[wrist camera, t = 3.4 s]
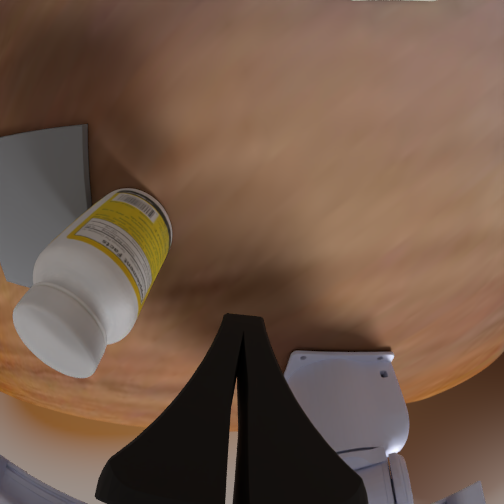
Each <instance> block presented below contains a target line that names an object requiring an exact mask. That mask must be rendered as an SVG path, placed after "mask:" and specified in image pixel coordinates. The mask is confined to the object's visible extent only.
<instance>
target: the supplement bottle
mask: <svg viewBox="0 0 504 504" xmlns="http://www.w3.org/2000/svg"><path fill="white" fill-rule="evenodd" d="M171 243H172V226H171V222H170V219H169V217H168V215H167V213H166V211H165V209H164V208H163V207H162V205H161V204H160V203H159V202H158V201H157V200H156V199H155V198H153V197H152V196H151V195H149V194H147V193H145V192H143V191H141V190H137V189H132V188H123V189H118V190H115V191H112V192H111V193H109V194H107V195H106V196H104V197H103V198H102V199H100V200H99V201H98V202H96V203H95V204H94V205H93V206H92V207H90V208H89V209H88V210H87V211H86V212H84V213H83V214H82V215H81V216H80V217H78V218H77V219H76V220H75V221H74V222H73V223H72V224H71V225H69V226H68V227H67V228H66V229H65V230H64V231H63V232H62V233H61V234H59V235H58V236H57V237H56V238H55V239H54V240H53V241H52V242H51V243H50V244H49V245H48V246H47V247H46V248H45V249H44V250H43V251H42V252H41V253H40V255H39V257H38V258H37V260H36V262H35V265H34V270H33V284H34V285H33V286H32V287H31V288H30V289H29V290H28V291H27V292H26V294H25V295H24V296H23V297H22V299H21V300H20V301H19V303H18V304H17V305H16V307H15V308H14V311H13V322H14V326H15V328H16V331H17V333H18V334H19V336H20V338H21V339H22V341H23V342H24V344H25V345H26V346H27V347H28V348H29V349H30V351H31V352H32V353H33V354H35V355H36V356H37V357H38V358H39V359H40V360H41V361H43V362H44V363H45V364H47V365H48V366H50V367H51V368H53V369H55V370H57V371H59V372H61V373H63V374H65V375H68V376H71V377H76V378H86V377H89V376H91V375H92V374H93V373H94V372H95V370H96V368H97V366H98V364H99V362H100V360H101V358H102V356H103V354H104V352H105V348H106V346H107V344H112V343H115V342H118V341H120V340H121V339H123V338H124V337H125V336H126V335H127V334H128V333H129V332H130V331H131V329H132V327H133V325H134V323H135V322H136V320H137V318H138V315H139V313H140V311H141V309H142V306H143V304H144V302H145V300H146V297H147V295H148V293H149V291H150V289H151V287H152V285H153V283H154V281H155V279H156V276H157V274H158V272H159V270H160V268H161V266H162V264H163V262H164V260H165V258H166V256H167V254H168V252H169V249H170V246H171Z"/></svg>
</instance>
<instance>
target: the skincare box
mask: <svg viewBox="0 0 504 504" xmlns="http://www.w3.org/2000/svg"><path fill="white" fill-rule="evenodd" d="M352 1H363V0H352ZM406 1H407V0H406ZM411 1H436V0H411Z"/></svg>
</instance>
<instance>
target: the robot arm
mask: <svg viewBox="0 0 504 504" xmlns="http://www.w3.org/2000/svg"><path fill="white" fill-rule="evenodd" d="M393 358H394V353H393V352H322V351H294V352H292V353H291V355H290V358H289V361H288V364H287V367H286V369H285V372H284V375H283V373H282V371H281V369H280V367H279V364H278V362H277V360H276V357H275V355H274V352H273V350H272V347H271V344H270V341H269V338H268V335H267V332H266V328H265V324H264V319H263V318H262V317H257V316H247V315H238V314H229V313H227V314H225V315H224V317H223V320H222V323H221V326H220V328H219V331H218V333H217V335H216V337H215V339H214V341H213V343H212V345H211V347H210V348H209V350H208V352H207V354H206V356H205V357H204V359H203V361H202V362H201V364H200V365H199V367H198V368H197V370H196V371H195V373H194V374H193V376H192V377H191V379H190V380H189V381H188V383H187V384H186V385H185V387H184V388H183V389H182V391H181V392H180V393H179V394H178V396H177V397H176V398H175V399H174V400H173V401H172V403H171V404H170V405H169V406H168V407H167V408H166V409H165V410H164V412H163V413H162V414H161V415H160V416H159V417H158V418H157V419H156V420H155V421H154V422H153V423H152V424H150V425H149V426H148V427H147V428H146V429H145V430H144V431H143V432H142V433H141V434H140V435H139V436H137V438H135V439H134V440H133V441H132V442H130V443H129V444H128V445H126V446H125V447H124V448H123V449H121V450H120V451H119V452H117V453H116V454H115V455H113V456H112V457H111V458H110V459H109V460H108V462H107V463H106V465H105V467H104V468H103V470H102V473H101V475H100V477H99V480H98V484H97V488H96V493H95V497H96V499H98V500H100V501H102V502H104V503H107V504H225V494H226V476H227V459H228V443H229V429H230V414H231V405H232V399H233V394H234V389H235V383H236V378H237V399H238V443H237V457H236V470H235V482H234V494H233V504H413V496H412V491H411V485H410V480H409V475H408V471H407V467H406V463H405V460H404V458H403V456H400V455H397V453H398V452H399V451H400V450H401V449H402V447H403V446H404V444H405V442H406V440H407V437H408V432H409V416H408V411H407V407H406V404H405V401H404V398H403V395H402V392H401V389H400V386H399V383H398V380H397V378H396V375H395V372H394V369H393V366H392V364H391V361H392V359H393ZM387 457H389V461H390V470H389V466H388V461H387ZM390 471H391V476H392V479H391V476H390ZM0 504H87V503H85V502H82V501H80V500H77V499H75V498H73V497H71V496H69V495H67V494H65V493H63V492H60V491H59V490H56V489H55V488H53V487H51V486H49V485H47V484H45V483H43V482H42V481H40V480H38V479H36V478H34V477H33V476H31V475H30V474H28V473H27V472H26V471H24V470H22V469H21V468H19V467H18V466H16V465H15V464H13V463H12V462H10V461H9V460H7V459H5V458H4V457H3V456H1V455H0ZM432 504H486V503H485V498H484V494H483V489H482V485H481V481H477V482H475V483H474V484H472V485H470V486H468V487H466V488H464V489H462V490H460V491H458V492H456V493H454V494H452V495H450V496H448V497H445V498H443V499H441V500H439V501H436V502H434V503H432Z"/></svg>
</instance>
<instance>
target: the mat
mask: <svg viewBox="0 0 504 504" xmlns="http://www.w3.org/2000/svg"><path fill="white" fill-rule="evenodd" d="M90 207H92V202H91V191H90V179H89V163H88V124H83V125H73V126H64V127H56V128H48V129H41V130H35V131H29V132H23V133H18V134H13V135H8V136H3V137H0V263H1V266H2V269H3V272H4V275H5V277H6V280H7V281H8V282H12V283H15V284H18V285H22V286H25V287H29V288H31V287H32V286H33V285H34V284H33V270H34V265H35V262H36V260H37V258H38V257H39V255H40V253H41V252H42V251H43V250H44V249H45V248H46V247H47V246H48V245H49V244H50V243H51V242H52V241H53V240H54V239H55V238H56V237H57V236H58V235H59V234H61V233H62V232H63V231H64V230H65V229H66V228H67V227H68V226H69V225H71V224H72V223H73V222H74V221H75V220H76V219H77V218H78V217H80V216H81V215H82V214H83V213H84V212H86V211H87V210H88V209H89V208H90Z"/></svg>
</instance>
